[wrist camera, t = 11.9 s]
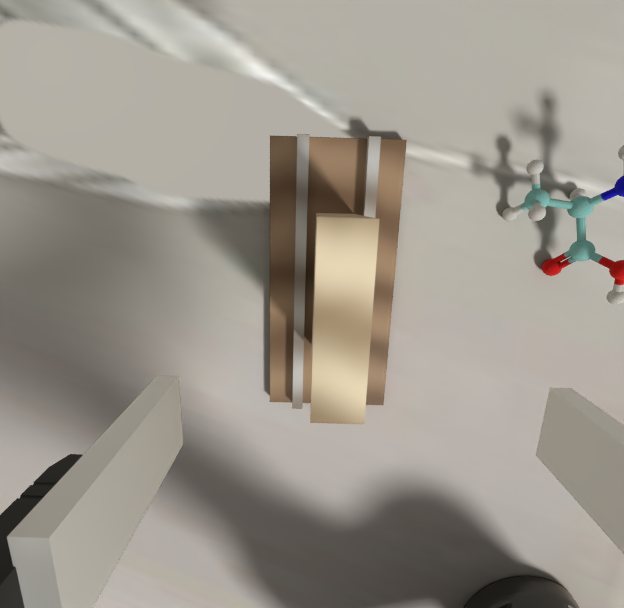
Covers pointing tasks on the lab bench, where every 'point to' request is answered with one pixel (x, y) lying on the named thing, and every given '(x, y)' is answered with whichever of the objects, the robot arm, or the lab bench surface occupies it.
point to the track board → (301, 245)
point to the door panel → (342, 316)
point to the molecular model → (579, 210)
